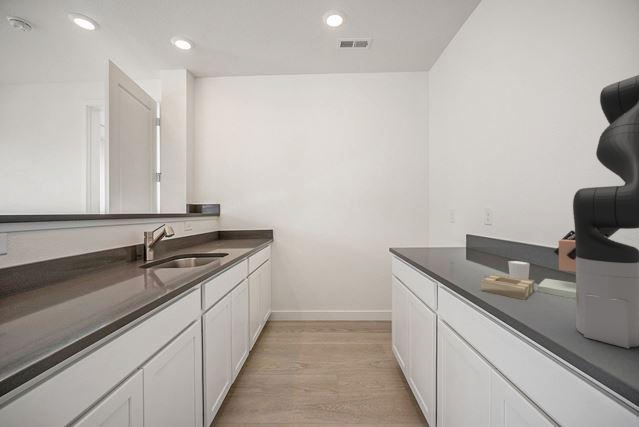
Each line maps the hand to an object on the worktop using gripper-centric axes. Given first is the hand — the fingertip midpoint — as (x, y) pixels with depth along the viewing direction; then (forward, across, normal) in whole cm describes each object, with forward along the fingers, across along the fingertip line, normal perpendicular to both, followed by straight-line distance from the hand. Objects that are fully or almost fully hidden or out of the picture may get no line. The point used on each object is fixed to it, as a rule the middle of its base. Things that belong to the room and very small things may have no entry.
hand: (562, 255), depth 84 cm
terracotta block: (+2, 0, +5) cm, 5 cm away
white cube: (+14, -14, +4) cm, 20 cm away
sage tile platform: (+8, 0, +10) cm, 13 cm away
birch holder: (+21, +3, -4) cm, 21 cm away
